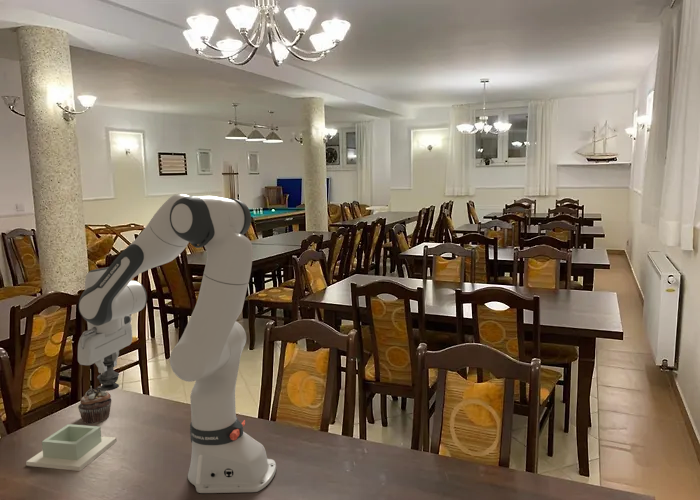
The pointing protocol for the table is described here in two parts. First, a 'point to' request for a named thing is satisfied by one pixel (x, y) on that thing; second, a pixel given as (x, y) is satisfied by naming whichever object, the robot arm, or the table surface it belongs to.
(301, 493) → the table surface
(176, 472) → the table surface
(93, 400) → the cupcake
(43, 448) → the stand
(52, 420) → the table surface
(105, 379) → the dark chess piece
